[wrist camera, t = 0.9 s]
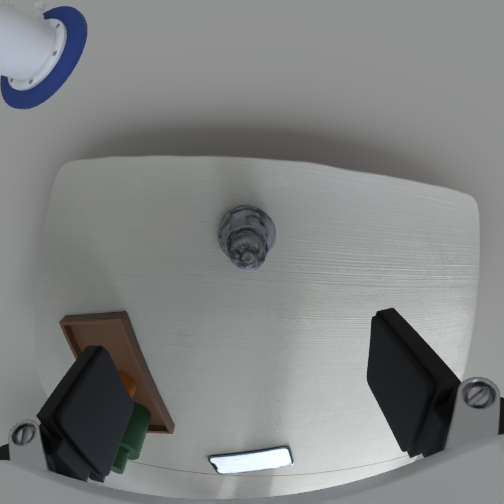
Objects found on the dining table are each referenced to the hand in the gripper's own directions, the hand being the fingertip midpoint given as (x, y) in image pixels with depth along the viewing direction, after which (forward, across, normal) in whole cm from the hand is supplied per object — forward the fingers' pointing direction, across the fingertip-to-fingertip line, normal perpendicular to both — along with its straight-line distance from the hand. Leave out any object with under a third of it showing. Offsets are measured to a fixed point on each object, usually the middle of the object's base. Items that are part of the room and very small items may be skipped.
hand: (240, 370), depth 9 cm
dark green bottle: (+24, +23, +28) cm, 43 cm away
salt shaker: (+24, 0, 0) cm, 25 cm away
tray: (+24, +23, +20) cm, 39 cm away
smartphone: (+24, +6, +45) cm, 52 cm away
